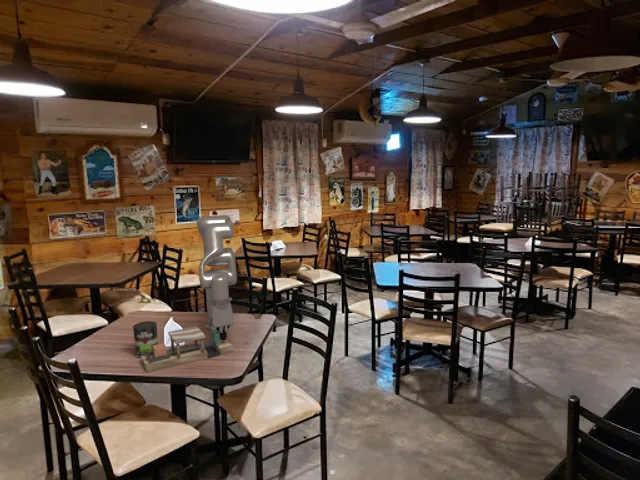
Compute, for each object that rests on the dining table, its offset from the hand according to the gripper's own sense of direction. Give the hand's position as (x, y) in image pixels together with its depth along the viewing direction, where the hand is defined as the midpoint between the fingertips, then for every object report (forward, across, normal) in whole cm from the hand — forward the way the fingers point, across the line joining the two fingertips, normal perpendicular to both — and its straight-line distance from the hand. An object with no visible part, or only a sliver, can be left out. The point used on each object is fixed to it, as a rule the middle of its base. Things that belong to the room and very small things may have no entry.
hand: (223, 339), depth 213 cm
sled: (+1, +18, 0) cm, 18 cm away
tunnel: (+5, +17, 0) cm, 17 cm away
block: (+2, +29, 0) cm, 29 cm away
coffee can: (+5, +32, -15) cm, 35 cm away
